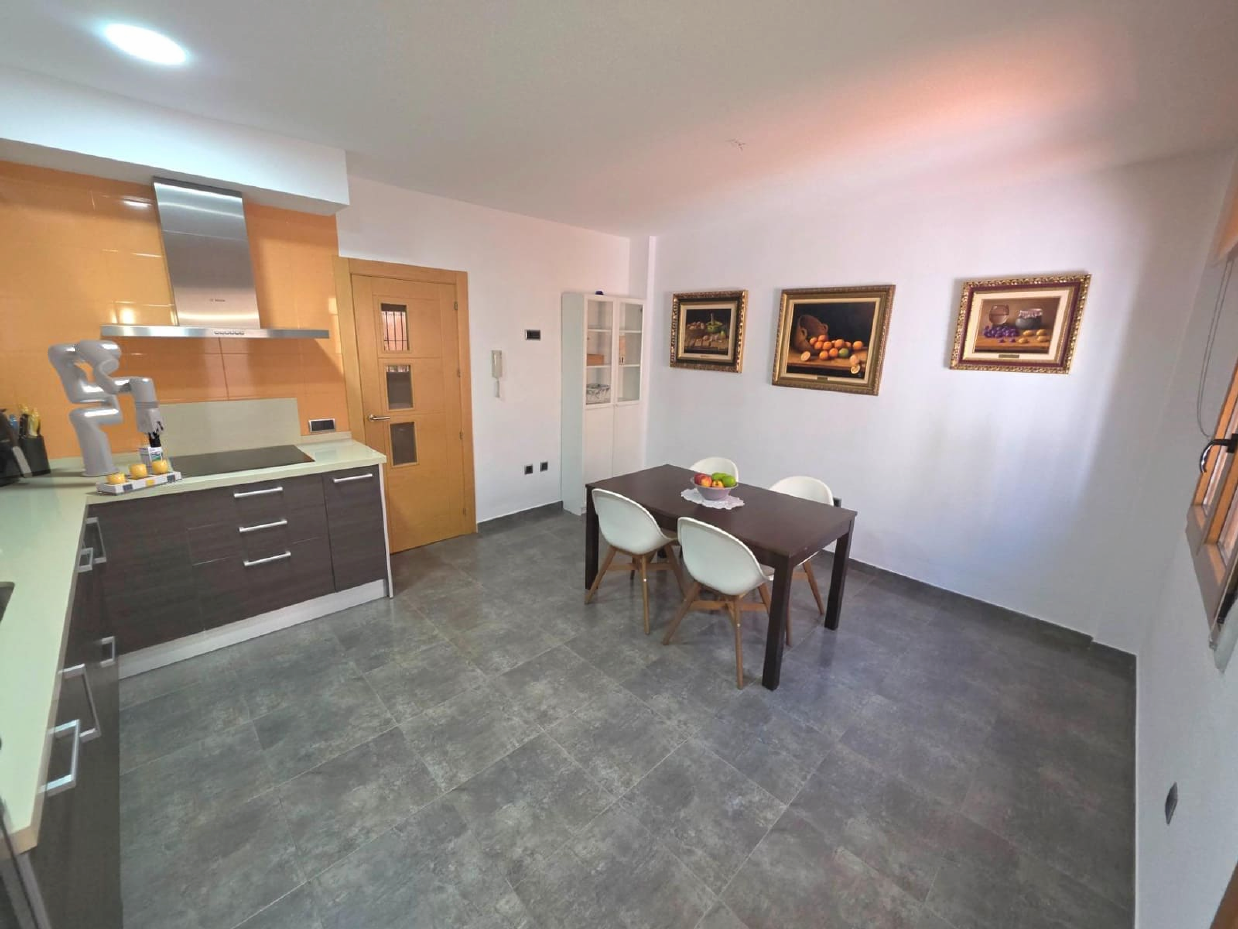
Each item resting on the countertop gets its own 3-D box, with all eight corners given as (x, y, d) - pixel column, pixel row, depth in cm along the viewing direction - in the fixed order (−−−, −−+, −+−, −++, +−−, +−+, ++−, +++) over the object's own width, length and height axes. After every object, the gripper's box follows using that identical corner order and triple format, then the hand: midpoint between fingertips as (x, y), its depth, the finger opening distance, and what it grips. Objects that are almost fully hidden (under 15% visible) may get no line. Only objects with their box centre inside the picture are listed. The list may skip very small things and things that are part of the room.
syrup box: (154, 477, 228) (148, 447, 225) (144, 476, 229) (137, 446, 226) (167, 474, 234) (161, 444, 230) (157, 473, 235) (151, 444, 231)
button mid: (128, 479, 212) (125, 466, 211) (142, 476, 217) (139, 463, 216) (137, 480, 211) (133, 467, 209) (151, 477, 216) (148, 464, 214)
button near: (106, 489, 205) (103, 475, 204) (121, 486, 210) (118, 472, 209) (115, 491, 204) (111, 477, 202) (130, 487, 209) (127, 474, 207)
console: (97, 492, 205) (95, 483, 204) (163, 478, 228) (161, 469, 227) (117, 495, 202) (115, 486, 201) (182, 480, 224) (180, 472, 223)
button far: (150, 475, 220) (147, 462, 218) (163, 472, 225) (160, 459, 223) (158, 476, 218) (155, 463, 217) (171, 473, 223) (169, 460, 222)
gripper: (124, 406, 212) (134, 447, 217) (148, 407, 208) (158, 449, 213) (144, 404, 219) (154, 444, 224) (168, 405, 215) (177, 446, 220)
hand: (156, 447), depth 218 cm, fingers closed
